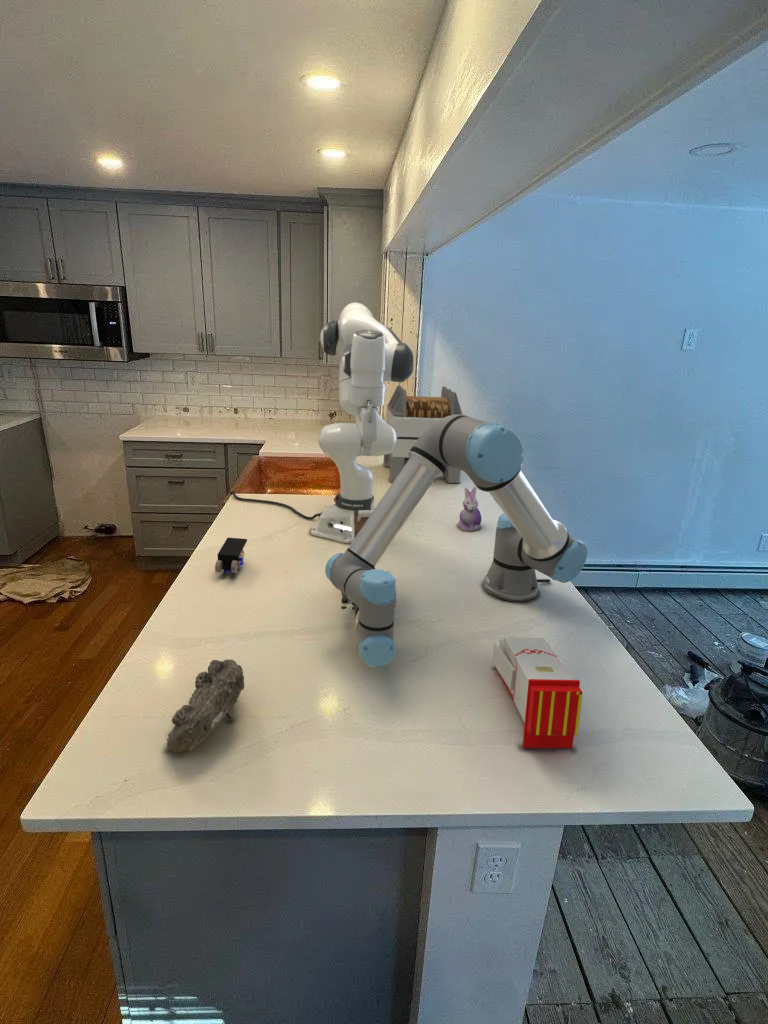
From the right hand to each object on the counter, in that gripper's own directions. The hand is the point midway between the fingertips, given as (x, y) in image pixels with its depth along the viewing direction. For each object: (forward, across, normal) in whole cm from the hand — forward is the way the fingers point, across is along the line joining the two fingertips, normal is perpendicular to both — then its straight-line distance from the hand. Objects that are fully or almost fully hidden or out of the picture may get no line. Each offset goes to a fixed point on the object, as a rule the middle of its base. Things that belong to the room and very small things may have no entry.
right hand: (363, 573), depth 154 cm
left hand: (+6, 0, +32) cm, 33 cm away
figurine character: (+18, -37, -7) cm, 42 cm away
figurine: (+51, +44, -7) cm, 68 cm away
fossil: (-47, -32, -7) cm, 57 cm away
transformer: (+123, +38, -7) cm, 129 cm away
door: (0, 0, +10) cm, 10 cm away
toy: (-46, +30, -7) cm, 56 cm away
